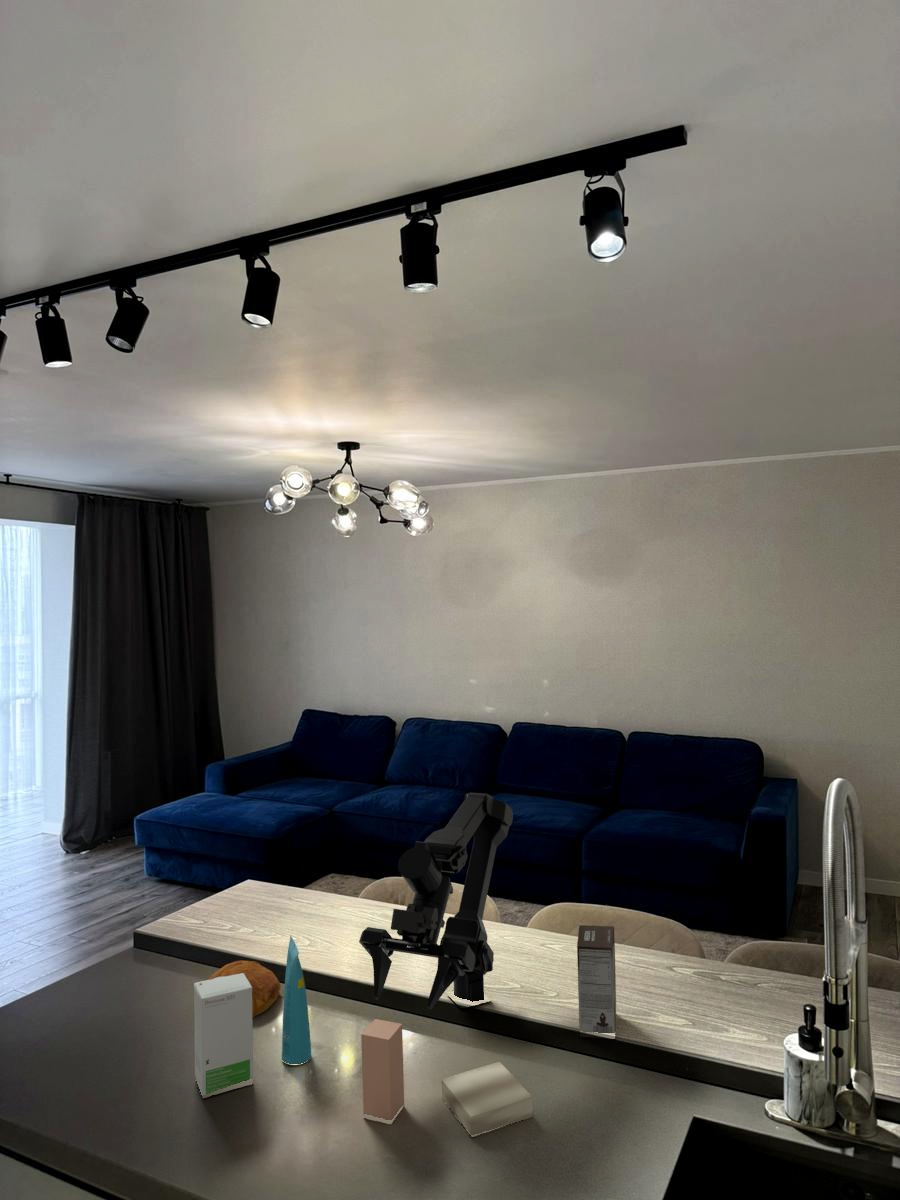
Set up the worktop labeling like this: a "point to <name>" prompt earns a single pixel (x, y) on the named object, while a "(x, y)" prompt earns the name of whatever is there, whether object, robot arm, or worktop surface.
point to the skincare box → (223, 1032)
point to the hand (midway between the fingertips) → (402, 1003)
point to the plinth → (486, 1098)
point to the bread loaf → (254, 983)
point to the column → (382, 1069)
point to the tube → (295, 1012)
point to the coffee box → (596, 979)
